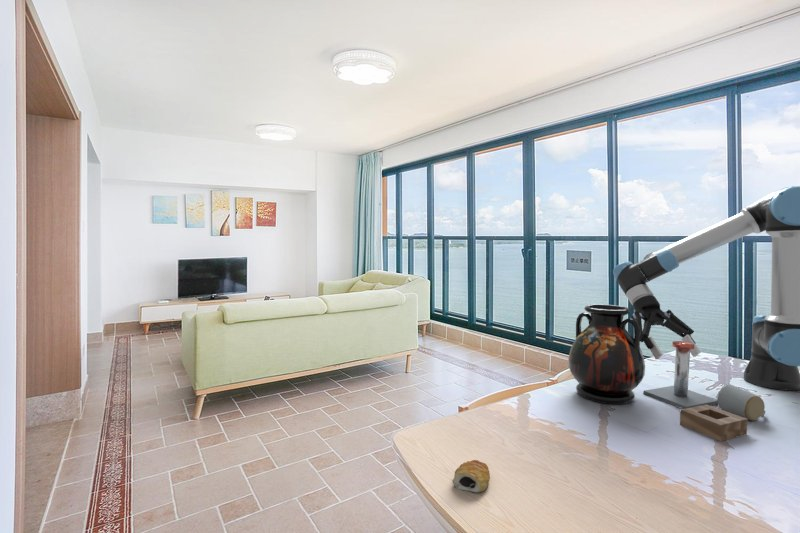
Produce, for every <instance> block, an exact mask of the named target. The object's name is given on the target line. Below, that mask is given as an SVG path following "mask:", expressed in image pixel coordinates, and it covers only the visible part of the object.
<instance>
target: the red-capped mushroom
mask: <svg viewBox="0 0 800 533" xmlns="http://www.w3.org/2000/svg"><path fill="white" fill-rule="evenodd" d="M671 346H672V347H673V348H675V359H674V360H675V362H674V376H673V377H674V379H673V386H674V395H675V396H679V397H687V396H688V390H689V379H690V378H689V374H690V359H691V353H690V349H694V344H693V343H689V342H684V341H682V340H673V341H672V343H671Z"/></svg>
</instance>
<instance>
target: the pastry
mask: <svg viewBox="0 0 800 533" xmlns="http://www.w3.org/2000/svg"><path fill="white" fill-rule="evenodd" d="M490 475H491V474H490V470H489V467H488V464H486V463H484V462H483V461H480V460H477V459H472V460H470V461H466V462H463V463H461V464H460V465H459V467H458V468H456V469H455V470H454V476H453V479H451V480H452V484H453V485H454V487H455V488H456V489H458V490H459V491H460V490H461V491H466V492H472V493H476V494H477V493H478V494H479V493H482V492H484V491H486V490H487V488H488V487H489V482H490V479H491V476H490Z"/></svg>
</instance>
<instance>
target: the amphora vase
mask: <svg viewBox="0 0 800 533" xmlns="http://www.w3.org/2000/svg"><path fill="white" fill-rule="evenodd" d="M584 310H585V312H581V313H579V314H578V316H577V318H576V322H575V339H574V341H573V343H572V345H571V347H570V350H569V352H568V353H569V354H568V361H567V362H568V368H569V372H570V373H571V375H572V376H573V378H574V379H575V381H576V382H577V385H576V387H575V390H576V392H577V393H578V395H580V396H581V397H583V398H585V399H587V400H590V401H593V402H596V403H601V404H609V405H622V404H628V403H631V402H632V401H633V400H634V399H635V393H634V391H633V390H634V389H636V388H637V387H638V386H639V385H640V384H641V383H642V381H643V379H644V378H645V376H646V374H645V373H646V363H645V358H644V354H643V351H642V349H641V347H640V346H641V342H640V326H639V324H638V322H637V321H635V320H634V319H632V318H629V317H628V318H626V319H624V316H627V315H629V314H631V309H630V308H628V307H626V306H621V305H614V304H587V305H586V306H584ZM584 317H585V318H586V320H588V326H586V327H585V328H584V329H583V330H582V320H583V318H584ZM628 323H629V324H631V325H632V327H633V330H634V331H635V334H634V336H632V335H631V333H629V331H628V329H626V326H627V324H628Z"/></svg>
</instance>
